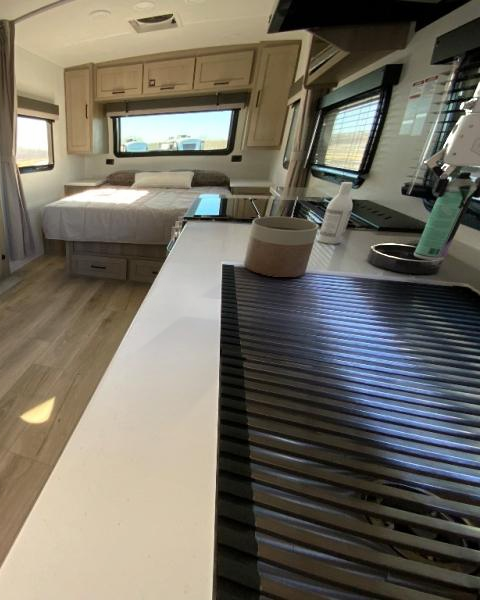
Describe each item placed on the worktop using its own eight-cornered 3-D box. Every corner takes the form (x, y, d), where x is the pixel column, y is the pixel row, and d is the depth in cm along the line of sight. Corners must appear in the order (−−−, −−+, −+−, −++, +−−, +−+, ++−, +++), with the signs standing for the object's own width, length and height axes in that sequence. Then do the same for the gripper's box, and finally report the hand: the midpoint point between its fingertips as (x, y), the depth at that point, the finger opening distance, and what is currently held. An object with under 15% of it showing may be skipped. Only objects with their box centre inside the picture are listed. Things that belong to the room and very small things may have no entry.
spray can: (450, 259, 81) (492, 172, 72) (427, 260, 81) (465, 174, 72) (429, 252, 86) (466, 170, 76) (407, 253, 86) (441, 171, 77)
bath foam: (332, 238, 121) (350, 180, 112) (345, 244, 114) (366, 183, 105) (313, 239, 121) (329, 181, 112) (325, 244, 115) (344, 184, 106)
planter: (247, 277, 93) (257, 229, 87) (240, 258, 106) (248, 215, 100) (312, 282, 89) (327, 231, 82) (296, 261, 102) (308, 216, 96)
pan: (425, 259, 99) (431, 246, 98) (447, 278, 87) (454, 264, 85) (361, 253, 106) (366, 241, 104) (373, 270, 94) (379, 257, 92)
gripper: (446, 109, 69) (411, 198, 77) (571, 101, 62) (518, 200, 70) (432, 110, 75) (401, 192, 83) (544, 103, 68) (499, 194, 76)
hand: (455, 195), depth 76 cm, fingers closed on spray can, 5 cm apart
